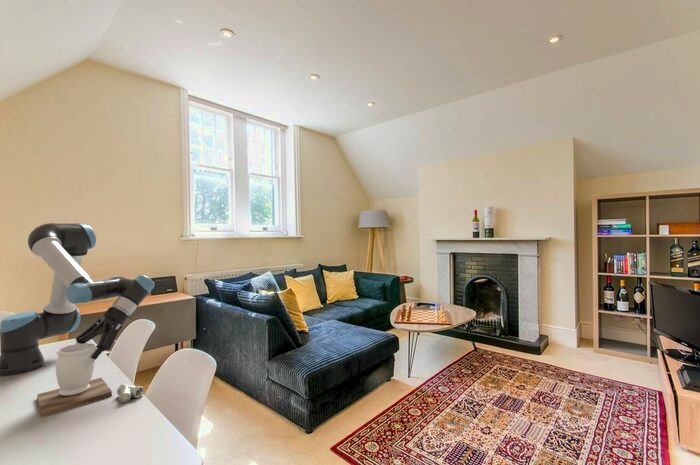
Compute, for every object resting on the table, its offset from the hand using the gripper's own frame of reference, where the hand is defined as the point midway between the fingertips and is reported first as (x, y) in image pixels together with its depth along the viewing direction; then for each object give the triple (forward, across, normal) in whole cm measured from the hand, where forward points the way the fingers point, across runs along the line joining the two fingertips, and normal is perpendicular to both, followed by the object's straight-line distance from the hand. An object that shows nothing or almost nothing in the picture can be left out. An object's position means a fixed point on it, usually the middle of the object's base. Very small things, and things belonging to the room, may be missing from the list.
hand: (73, 364), depth 115 cm
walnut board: (+8, 0, -8) cm, 12 cm away
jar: (+7, +2, -8) cm, 10 cm away
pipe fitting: (+3, -17, -14) cm, 22 cm away
